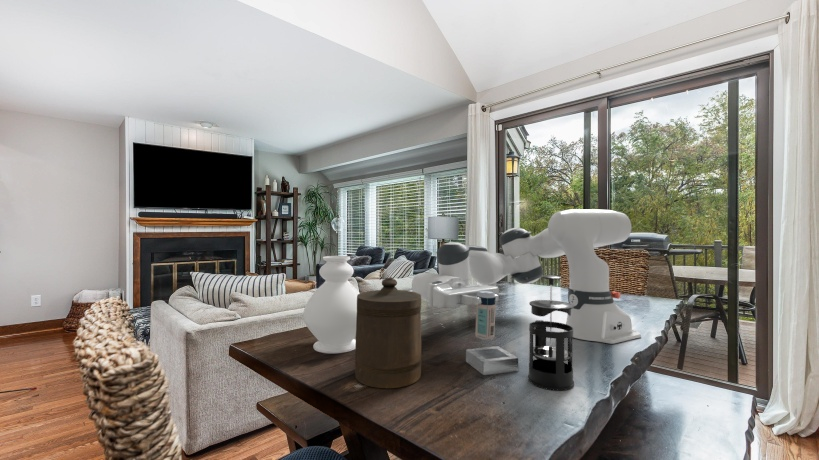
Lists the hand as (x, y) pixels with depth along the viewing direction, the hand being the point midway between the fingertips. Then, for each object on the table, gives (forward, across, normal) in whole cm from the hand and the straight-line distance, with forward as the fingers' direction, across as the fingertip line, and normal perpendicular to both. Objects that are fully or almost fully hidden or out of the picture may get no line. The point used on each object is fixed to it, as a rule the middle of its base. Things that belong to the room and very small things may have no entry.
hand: (488, 300), depth 94 cm
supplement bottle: (-1, 0, -10) cm, 10 cm away
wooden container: (-6, +26, -15) cm, 31 cm away
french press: (+17, -1, -15) cm, 23 cm away
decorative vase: (-32, +27, -15) cm, 44 cm away
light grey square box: (+4, +3, -15) cm, 16 cm away
